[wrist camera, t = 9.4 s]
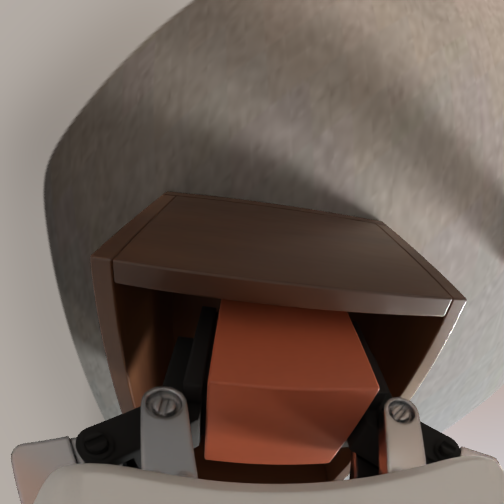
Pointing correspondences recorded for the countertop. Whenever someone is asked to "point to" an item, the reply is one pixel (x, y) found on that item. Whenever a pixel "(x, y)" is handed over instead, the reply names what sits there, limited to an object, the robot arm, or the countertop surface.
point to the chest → (264, 296)
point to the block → (284, 384)
